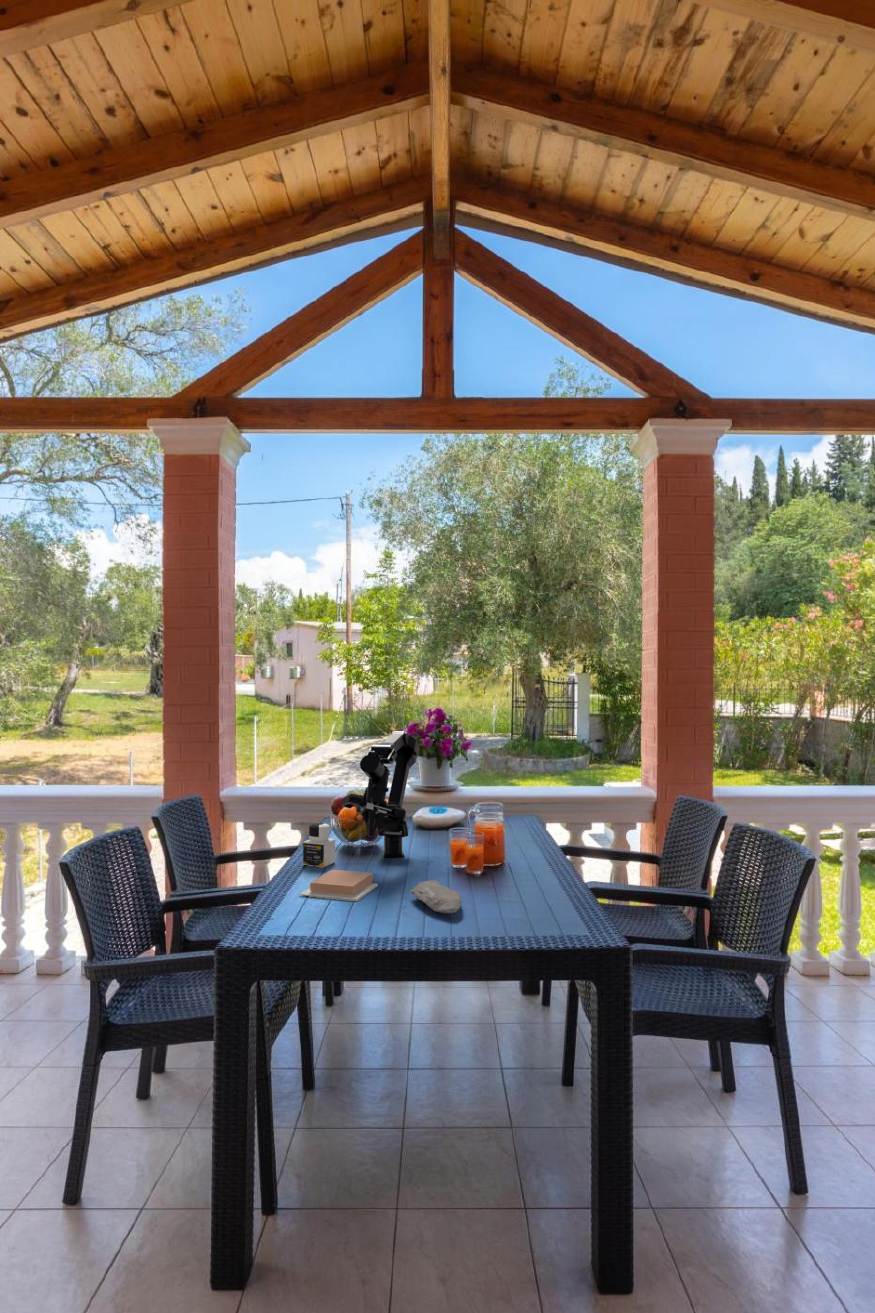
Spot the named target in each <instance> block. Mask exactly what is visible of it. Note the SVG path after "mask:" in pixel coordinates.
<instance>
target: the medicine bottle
mask: <svg viewBox="0 0 875 1313" xmlns="http://www.w3.org/2000/svg"><path fill="white" fill-rule="evenodd" d="M308 835H309V836H308V837H309V839H308V840H304V841H303V843H302V844H303V846H302V854H303V856H302V860H303V861H302V865H303V866H304V865H308V866H307V867H313V866H315V867H314V868H325V867H327V866H330V865H332V864H334V863H335V862H336V839H335V838H330V825H329V824H327V823H325V822H315V823H312V824H310V825H309V827H308Z"/></svg>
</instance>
